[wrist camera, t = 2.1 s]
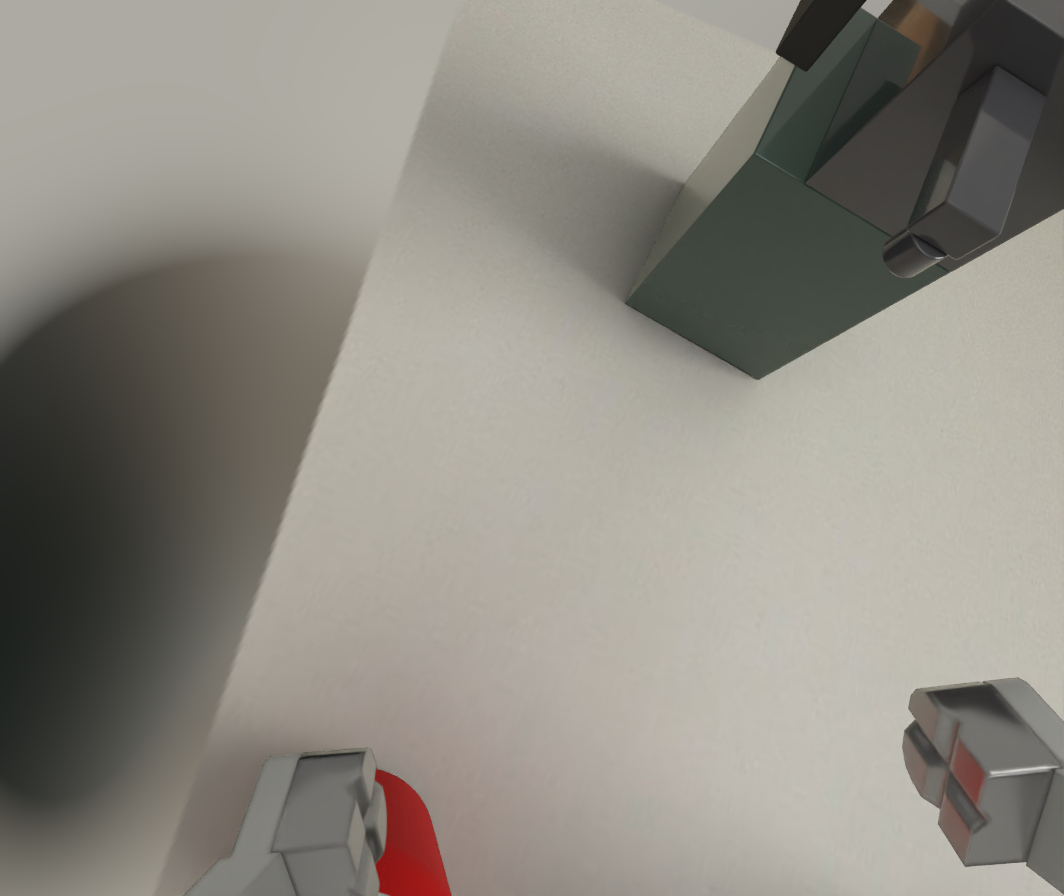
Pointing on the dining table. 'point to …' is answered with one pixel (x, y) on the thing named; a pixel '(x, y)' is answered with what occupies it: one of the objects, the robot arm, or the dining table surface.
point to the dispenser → (864, 178)
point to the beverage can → (408, 845)
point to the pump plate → (815, 29)
